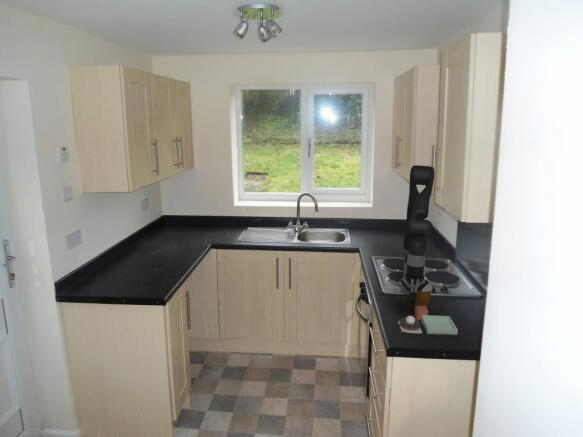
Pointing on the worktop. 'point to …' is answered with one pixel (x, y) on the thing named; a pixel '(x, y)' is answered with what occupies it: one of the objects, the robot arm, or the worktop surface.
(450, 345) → the worktop surface
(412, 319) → the dome
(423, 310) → the cube
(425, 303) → the disposable coffee cup
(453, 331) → the tray
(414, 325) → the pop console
